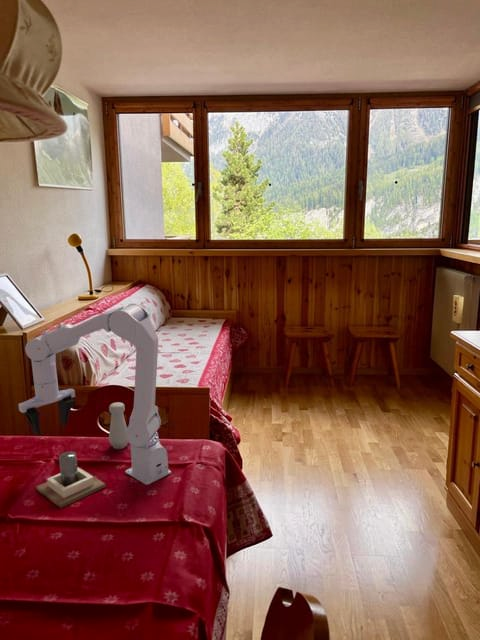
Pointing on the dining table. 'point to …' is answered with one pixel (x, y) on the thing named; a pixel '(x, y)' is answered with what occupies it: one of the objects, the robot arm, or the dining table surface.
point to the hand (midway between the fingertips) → (51, 429)
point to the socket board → (70, 488)
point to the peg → (68, 468)
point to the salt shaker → (117, 426)
